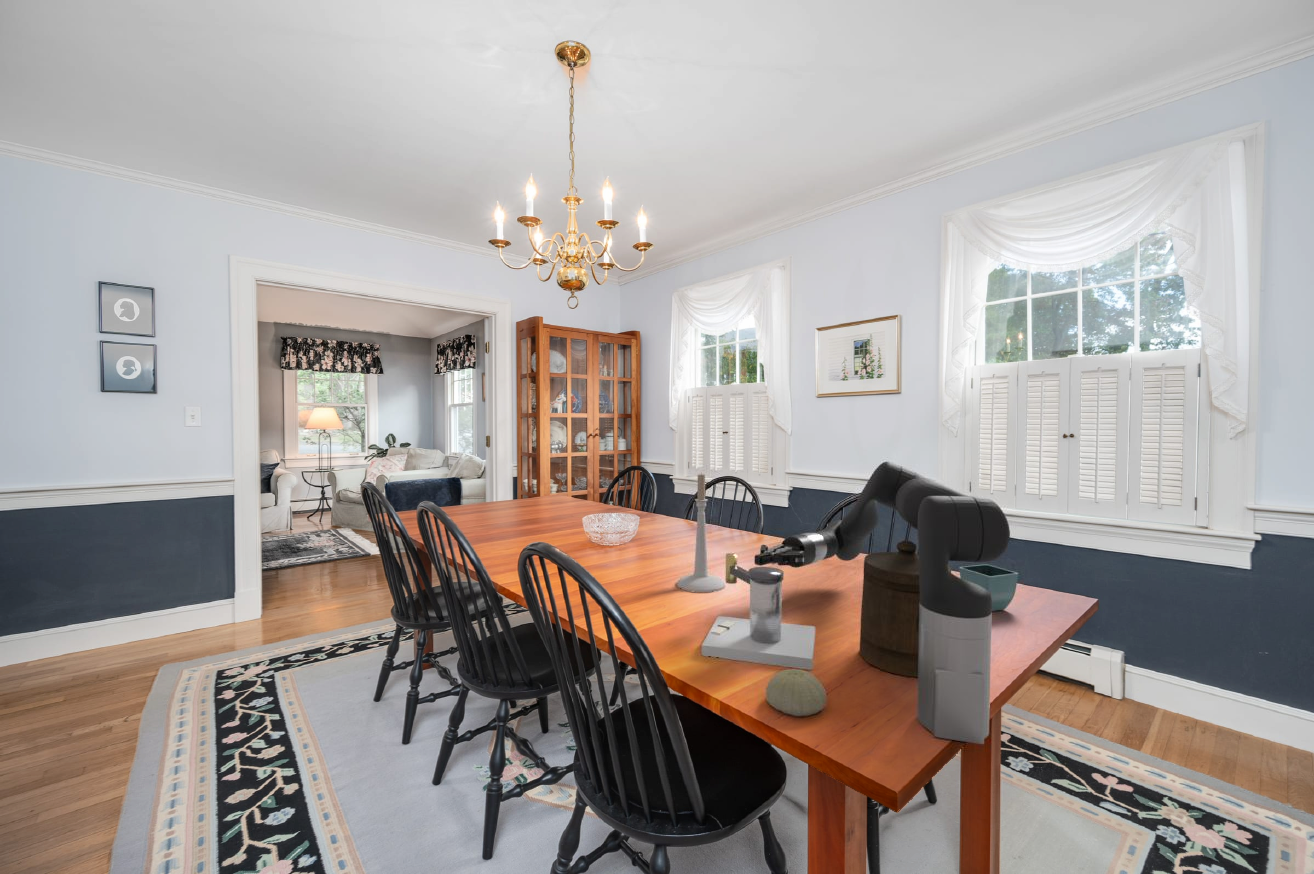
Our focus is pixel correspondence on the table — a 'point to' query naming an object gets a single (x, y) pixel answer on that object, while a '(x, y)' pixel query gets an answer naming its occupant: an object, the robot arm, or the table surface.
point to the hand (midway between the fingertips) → (757, 560)
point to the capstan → (760, 598)
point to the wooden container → (891, 610)
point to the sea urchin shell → (796, 693)
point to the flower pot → (992, 582)
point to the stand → (760, 644)
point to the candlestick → (701, 552)
